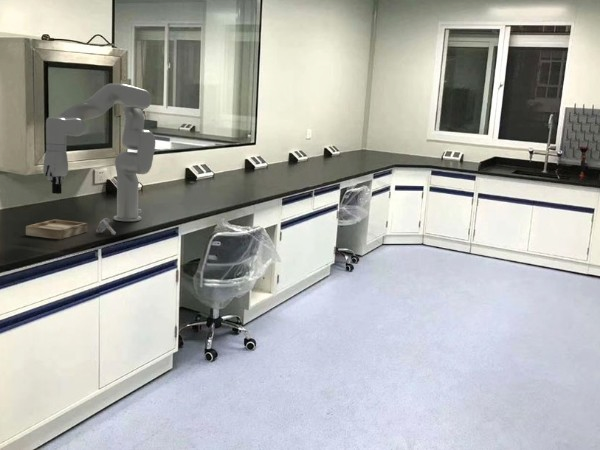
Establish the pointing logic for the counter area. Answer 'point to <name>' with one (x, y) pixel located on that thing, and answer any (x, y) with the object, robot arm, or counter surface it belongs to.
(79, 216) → the counter surface
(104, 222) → the stand
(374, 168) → the counter surface
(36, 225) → the beech platter
